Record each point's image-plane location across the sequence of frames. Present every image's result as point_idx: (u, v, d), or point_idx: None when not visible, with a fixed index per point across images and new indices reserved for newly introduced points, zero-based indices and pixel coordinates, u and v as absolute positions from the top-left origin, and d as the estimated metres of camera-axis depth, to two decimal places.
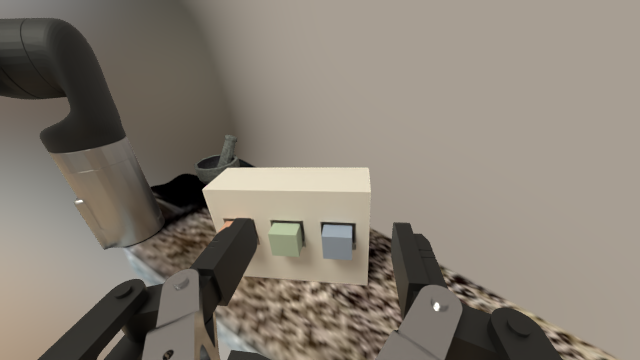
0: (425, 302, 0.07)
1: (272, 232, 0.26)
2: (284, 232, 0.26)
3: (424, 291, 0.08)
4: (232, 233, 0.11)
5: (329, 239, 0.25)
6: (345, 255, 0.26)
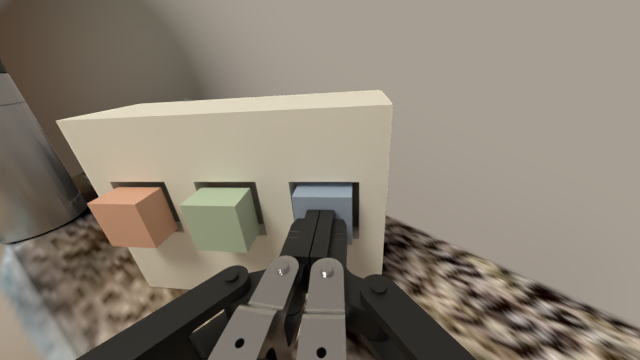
0: (314, 270, 0.09)
1: (190, 203, 0.13)
2: (213, 202, 0.13)
3: (313, 269, 0.09)
4: (310, 223, 0.11)
5: (307, 203, 0.13)
6: None
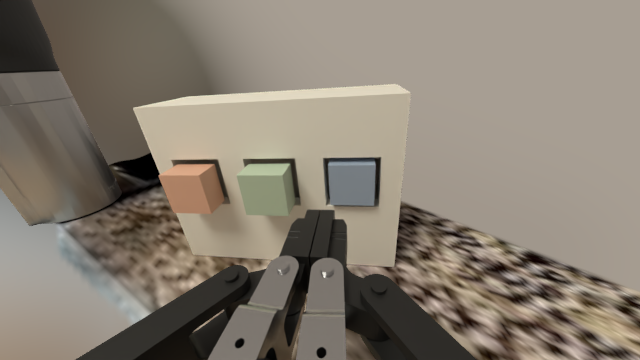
0: (314, 270, 0.09)
1: (245, 174, 0.16)
2: (263, 173, 0.16)
3: (313, 269, 0.09)
4: (310, 223, 0.11)
5: (340, 170, 0.16)
6: (364, 197, 0.17)
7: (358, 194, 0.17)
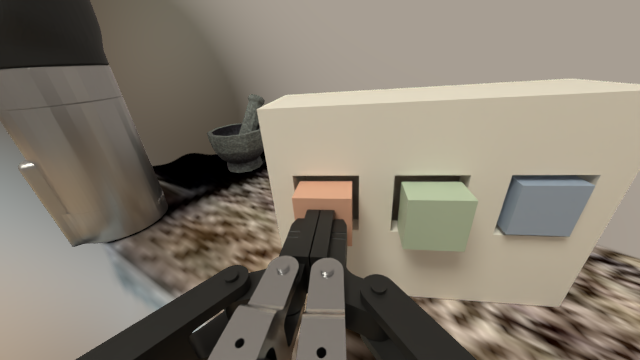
0: (314, 270, 0.09)
1: (418, 197, 0.12)
2: (444, 196, 0.12)
3: (313, 269, 0.09)
4: (310, 223, 0.11)
5: (539, 192, 0.12)
6: (560, 226, 0.13)
7: (552, 222, 0.13)
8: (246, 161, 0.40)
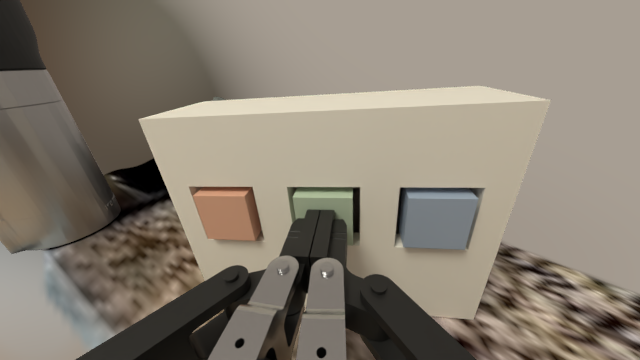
0: (315, 270, 0.09)
1: (302, 195, 0.13)
2: (326, 194, 0.13)
3: (313, 269, 0.09)
4: (310, 223, 0.11)
5: (425, 205, 0.12)
6: (453, 239, 0.13)
7: (445, 235, 0.12)
8: None
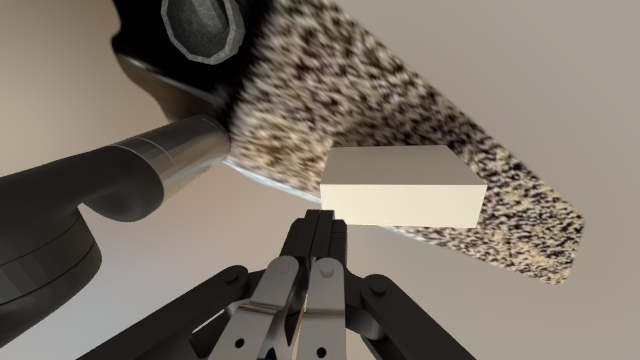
0: (315, 270, 0.09)
1: None
2: None
3: (313, 269, 0.09)
4: (310, 223, 0.11)
5: None
6: None
7: None
8: None
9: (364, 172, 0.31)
